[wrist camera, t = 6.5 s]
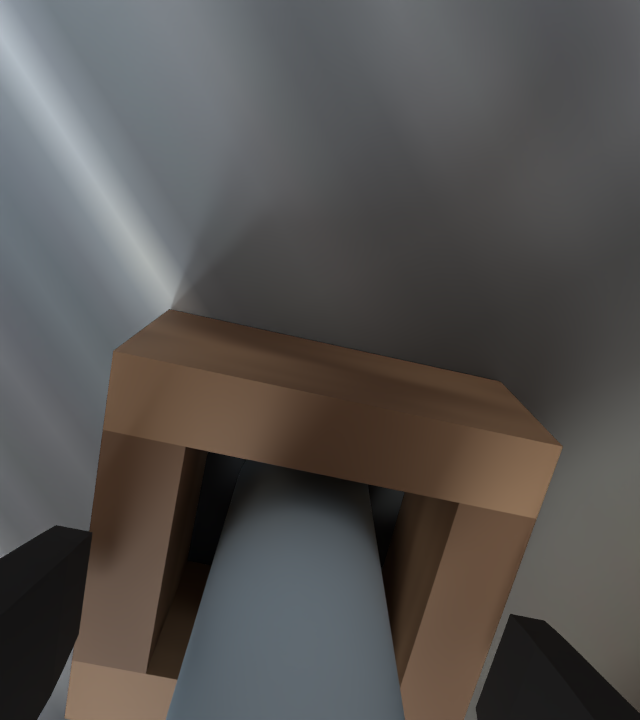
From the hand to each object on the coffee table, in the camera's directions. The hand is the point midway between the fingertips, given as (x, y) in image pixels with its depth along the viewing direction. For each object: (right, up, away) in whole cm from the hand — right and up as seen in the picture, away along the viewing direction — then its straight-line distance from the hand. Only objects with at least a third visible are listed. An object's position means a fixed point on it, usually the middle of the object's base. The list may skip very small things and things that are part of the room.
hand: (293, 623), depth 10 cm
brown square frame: (0, +1, +4) cm, 4 cm away
